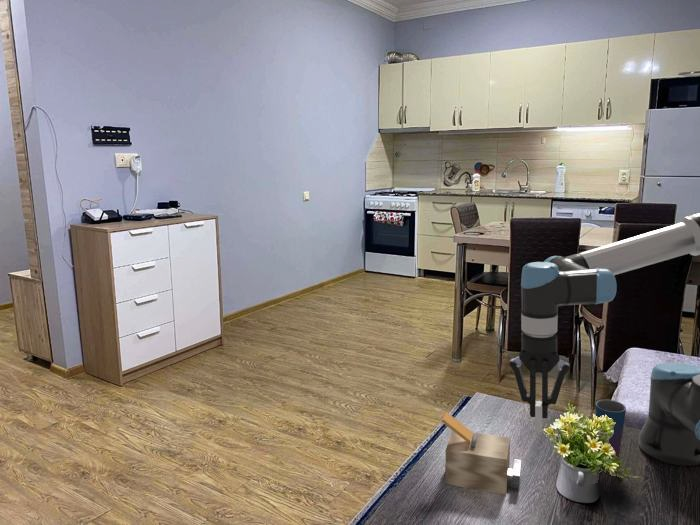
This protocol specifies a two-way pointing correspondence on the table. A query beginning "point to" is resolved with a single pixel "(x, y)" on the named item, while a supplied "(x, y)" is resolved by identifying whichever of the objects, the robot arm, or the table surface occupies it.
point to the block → (478, 462)
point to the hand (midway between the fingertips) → (538, 429)
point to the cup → (617, 414)
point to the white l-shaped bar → (512, 474)
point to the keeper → (459, 429)
